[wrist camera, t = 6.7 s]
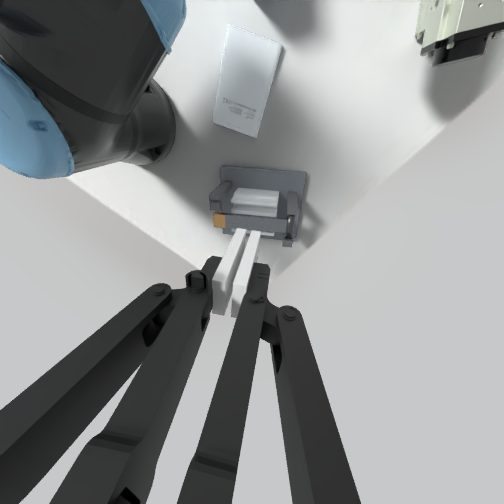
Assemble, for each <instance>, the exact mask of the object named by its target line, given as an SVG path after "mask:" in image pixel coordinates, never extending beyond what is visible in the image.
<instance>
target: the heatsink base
mask: <svg viewBox="0 0 504 504" xmlns="http://www.w3.org/2000/svg"><path fill="white" fill-rule="evenodd" d="M220 178H221V184H220V185H219V186H218V187H217V188H216V189H215V190H214V191H213V192H212V193H211V194H210V195H209V200H210V210H217V211H220V210H221V202H222V213H231V214H244V215H257V216H269V217H282V218H287V214H290V215H296V217H295V223H294V229H293V235H292V238H291V239H286V238H284V234H285V233H282V232H270V231H260V232H261V236H260V237H261V238H270V239H279V240H283V245H282V246H284V247H292V242H293V241H295V238H296V232H297V226H298V221H299V215H300V209H301V203H302V197H303V191H304V185H305V179H306V172H300V171H287V170H273V169H259V168H245V167H231V166H221V167H220ZM251 231H252V230H246V236H250V234H251ZM253 231H258V230H253ZM235 232H236V229H234V228H223V233H224V234H233V235H234V234H235Z"/></svg>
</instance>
